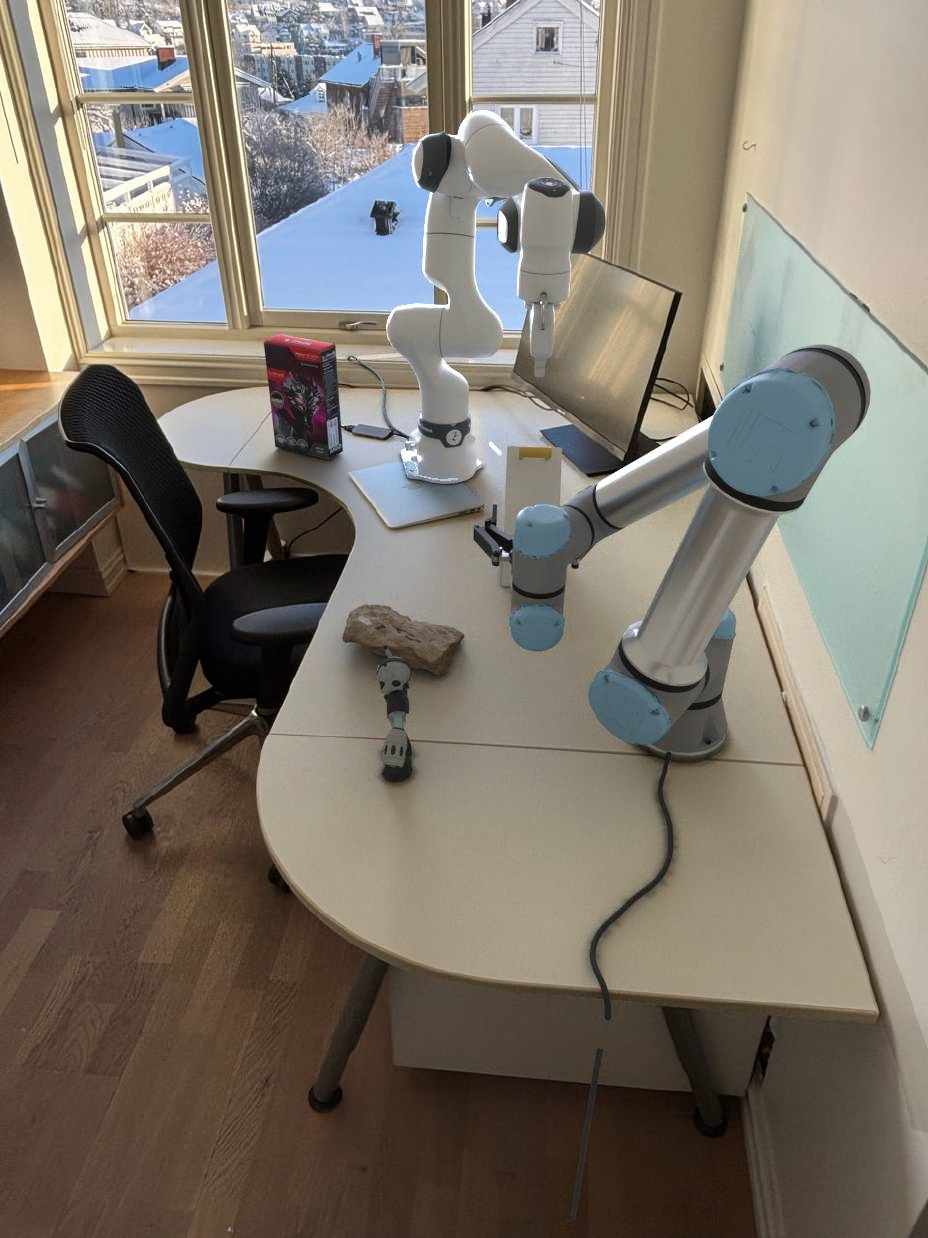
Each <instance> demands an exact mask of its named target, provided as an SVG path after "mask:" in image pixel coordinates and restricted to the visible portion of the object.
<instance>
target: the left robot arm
mask: <svg viewBox="0 0 928 1238" xmlns="http://www.w3.org/2000/svg"><path fill="white" fill-rule="evenodd" d="M411 166H412V174H413V175H412V176H413V180H414V182H415V184H416V185H417V187H418V188H419V189H421V190H423V191H426V192H428V193H430V194H429V199H428V203H427V208H426V214H425V223H424V234H423V235H424V236H423V256H422V257H423V258H422V273H423V275H424V277H425V278H426V280H427V281H428V282H429V283H431V284H432V285H434V287H436V288H438V289H440V290H441V291H443V292H445V293H446V294H447V297H448V304H428V303H427V304H426V303H412V304H405V305H400V306H396V307H395V308H394V309H393V310H392V311H391V313H390V315H389V316H388V318H387V322H386V337H387V340H388V342H389V344H390V346H391V347H392V349H393V350H394V351H395V352H397V353H398V354H399V355H400V356H402V357H403V358H404V360H405V361H406V362H407V363H408V364H409V366H410V367H411V369H412V370H413V372H414V374H415V376H416V380H417V382H418V383H417V384H418V388H419V396H420V397H419V398H420V399H419V400H420V411H419V412H420V414H419V418H418V420H417V428H416V429H414V430H413V431H412V432H411V433H410V434H409V435H407V434H406V433H404V432H402V431H401V430H399V429H397V428H396V427H395V426H394V425H393V424H392V422H391V421H390V419H389V417H388V416H387V412H386V383H385V381H384V379H383V377H382V376H381V374H379V372H377V371H376V369H374V368H372V367H371V366H369V365H368V364H367V363H365V362H363V361H362V360H361V359H359V358H358V357H356V356H355V355H352V354H349V355H348V356H347V357H346V360H350V359H354V360H355V359H359V361H357V362H358V363H359V364H360V365H361V366H363V367H365V368H366V369H368V370H369V371H371V372H373V373H374V375H376V376H377V377H378V379H379V381H380V382H381V385H382V401H381V402H382V403H381V407H382V414H383V417H384V420H385V421H386V423H387V425H388V426H389V428H390V429H391V430H392V431H394V432H396V433H397V434H399V435H400V436H402V437H404V438H406V439H409V441H405V443H404V449H401V450H400V457H401V461H402V464H403V468H404V470H405V474H406V476H407V478H408V479H411V480H420V481H424V482H428V483H433V484H439V485H440V484H441V485H448V484H451V485H452V484H458V483H463V482H465V481H468V480H469V479H472V477H474V476H475V473H476V472H477V471H478V470H480V469H481V468H483V462H482V461H481V460H479V459H478V458H477V439H476V435H475V434H473V432H471V426H472V419H471V414H470V385H469V383H468V381H467V379H466V378H465V377H464V375H462V374H461V373H460V372H458V371H456V370H455V369H453V368H451V366H450V365H448V363H447V362H446V360H445V359H444V358H446V359H460V360H461V359H462V360H463V359H464V360H476V359H485V358H491V357H493V356H494V355H496V353H498V351H499V349H500V348H501V345H502V343H503V339H504V327H503V323H502V320H501V318H500V316H499V315H498V314H497V313H496V311H494V310H493V309H492V308H491V307H490V306H489V305H488V303H487V302H486V301H485V299H484V298H483V296H482V294H481V293H480V290H479V288H478V284H477V280H476V266H475V265H476V264H475V263H476V261H475V260H476V259H475V258H476V239H477V238H476V236H477V210H478V207H479V205H480V203H481V202H482V201H484V202H485V204H486V206H487V208H490V207H493V206H494V205H495V203H497V202H500V201H503V202H502V204H501V205H500V206H499V208H498V209H497V216H496V238H497V239H496V240H497V242H498V243H499V244H500V245H501V247H502V248H503V249H504V250H505V251H507V252H508V253H509V254H514V255H519V261H518V265H517V285H516V296H517V298H518V299H520V300H522V301H523V307H524V308H525V309H527V310H528V317H529V348H530V351H529V353H530V356H531V358H533V359H534V360H533V361H534V371H533V372H534V373H533V374H534V377H535V378H544V377H545V375H546V366H547V360H548V359H549V358H552V356H553V352H554V336H555V335H554V334H555V311H558V310H560V309H561V307H562V302H565V301H567V300H569V298H570V289H571V274H572V263H571V258H570V256H571V254H573V255H587V254H589V253H590V252H591V251H592V250H593V249H594V248H595V247H596V246H597V245H598V244H599V243H600V242H601V240H602V239H603V237H604V234H605V232H606V224H607V223H606V218H607V217H606V212H605V208H604V206H603V205H604V204H602V201H601V200H600V199H599V197H598V196H597V195H596V194H595V193H594V192H593V191H591V190H590V189H584V188H582V187H581V186H580V185H578V183H577V182H576V181H574V179H572V177H571V176H570V175H568V173H567V172H565V171H564V169H562V168H561V167H560V166H559V164H557V162H555V161H554V160H553V159H551V158H549V157H548V156H545V155H544V154H541V153H540V152H538V151H537V150H536V149H533V148H532V147H530V146H529V145H527V144H526V143H525V142H524V141H522V140H521V139H520V138H519V137H518V136H517V135H516V133H515V132H514V130H513V129H512V128H511V126H510V125H509V124H508V123H507V122H506V121H505V120H504V119H503V118H501V116H499V115H498V114H496V113H495V112H493V111H490V110H486V109H481V110H475V111H474V112H471V113H470V114H469V115H467V116H466V117H465V118H464V119H463V121H462V122H461V124H460V126H459V129H458V134H457V135H454V134H453V135H452V134H448V133H446V131H441V132H438V133H431V134H428V135H427V134H426V135H425V136H423V137H422V138H420V139H419V140H418V142H417V143H416V146H415V148H414V152H413V155H412V161H411ZM351 357H352V358H351ZM489 446H490V447H491V448H492V449H493V450H494V451H495V452H496V453H497V454H498V455H499V456H501V455H502V451H501V450H500V449H499V448H497V446H495V444H494V443H493V442H491V441H489ZM407 461H411V462H414V464H415V466H416V469H417V474H418V475H422V476H427V477H431V478H438V479H448V478H458V480H451V481H440V480H432V479H428V478H424V477H420V476H411V475H409V474H408V473H407V470H406V466H405V463H404V462H407ZM409 472H415V470H409Z"/></svg>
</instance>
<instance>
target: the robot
mask: <svg viewBox="0 0 928 1238" xmlns="http://www.w3.org/2000/svg"><path fill="white" fill-rule="evenodd" d="M384 650H385V652H386V655H387V656H386V657H387V658H386V659H384V660H382V661H381V662H380V663H379V664H378V665H377V668H376V669H375V674H376V679H377V680H378V683H379V692H380V693H381V694H383V699H384V701H385V703H386V717H387V720H388V722H389V723H390V726H391V728H390V729H389V731H388V733H387V734H386V736H385V740H384V744H383V748H382V764H383V769H382V771H381V776H382V777H383V778H384V779H385V780H386V781H387V782H388V781H389V782H393V783H397V782H401V781H405V780H406V779H409V778H410V777H411V775H412V772H413V764H412V763H413V762H412V759H411V756H412V755H413V748H412V747H413V746H412V743H411V740H410V739H409V736H408V734H407V731H406V730H405V725H406V723H407V719H406V718H407V715H410V709H411V707H410V700H409V696H408V690H409V689H410V680H411V678H412V673H413V672H412V671H413V667H411V666H410V664H409V663H408V662H407V661H406V660H404V659H402V658H400V657H393V656H392V654H391V653H390V651H389V649H388V647H387V646H386V645H384Z"/></svg>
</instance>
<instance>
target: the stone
mask: <svg viewBox="0 0 928 1238" xmlns="http://www.w3.org/2000/svg"><path fill="white" fill-rule="evenodd" d="M464 638H465V634H464V633H463V632H461V630H458V629H456V628H455V627H452V626H449V625H442V624H435V623H430V622H427V621H420V620H412V619H411V618H410V617H409V616H408V615H403V614H400V613H399V612H398V611H396V610H394V609H392V606H390V605H383V604H380V603H379V604H368V603H364V604H362V605H359V606H357V607H356V608H354V609H352V610H350V612H349V613H348V614H347V618H346V625H345V627H344V630H343V633H342V638H341V639H342V642H343V643H345V644H347V643H354V644H357V645H359V646H360V647H361V648H362V650H364V651H366V652H370V653H374V654H375V655H379V656H384V657H387V655H386V652H385V650H384V645H386V646H387V647H388V649H389V651H390V653H391V654H392V656H393V657H400V658H402V659H404V660H406V661H407V662H408V663H409V664H410V666H411V668H412V669H413V668H414V669H420V670H426V671H428V672H430V673H431V674H433V675H436V676H439V677H440V676H443V675H445V674H446V673H447V672H448V670H449V668H450V667H451V664H452V658H453V656H454V655H455V654H456V651H458V648H459V646H460V644H461V642H462V641H463V639H464Z"/></svg>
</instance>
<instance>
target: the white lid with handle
mask: <svg viewBox="0 0 928 1238" xmlns="http://www.w3.org/2000/svg"><path fill="white" fill-rule="evenodd" d="M562 458H563V447H558V446H557V447H555V446H554V447H553V446H534V445H533V446H532V445H531V446H530V445H507V446H506V465H505V466H506V467H505V468H506V469H505V492H504V493H505V494H504V495H505V496H504V517H503V518H504V519H503V520H504V521H503V531H504V532H505V533H507V534H509V535H510V536H513V535H514V530H515V522H516V517H517V515H518V513H519V512H520V511H521V510H522V509H524V508H526V507H528V506H532V507H534V506H535V505H537V504H547V505H553V506H557V507H559V506H561V488H562V461H563V460H562Z"/></svg>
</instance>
